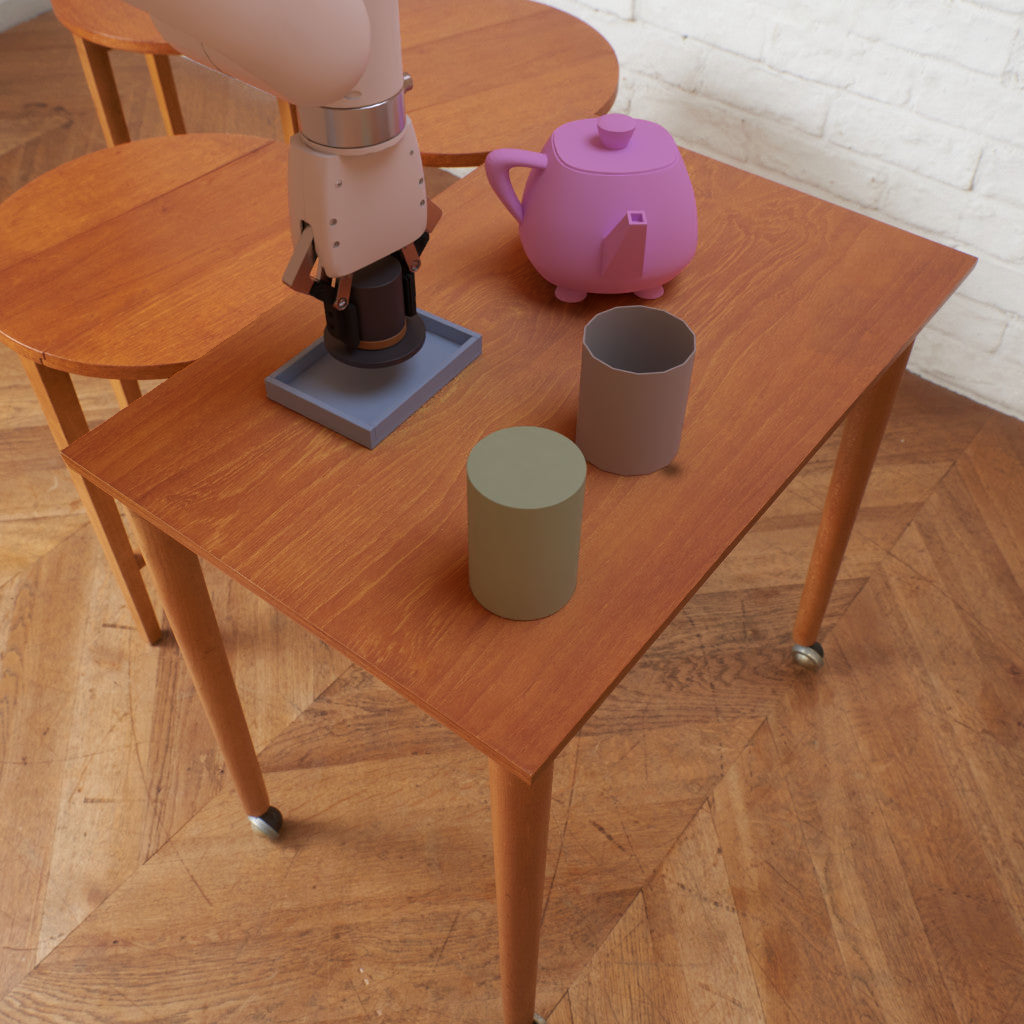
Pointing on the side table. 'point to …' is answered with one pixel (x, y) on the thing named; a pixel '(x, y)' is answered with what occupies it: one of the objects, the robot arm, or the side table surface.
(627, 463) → the cup
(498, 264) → the side table surface
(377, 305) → the hat
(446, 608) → the side table surface
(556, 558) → the pedestal
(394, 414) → the tray
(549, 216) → the teapot
